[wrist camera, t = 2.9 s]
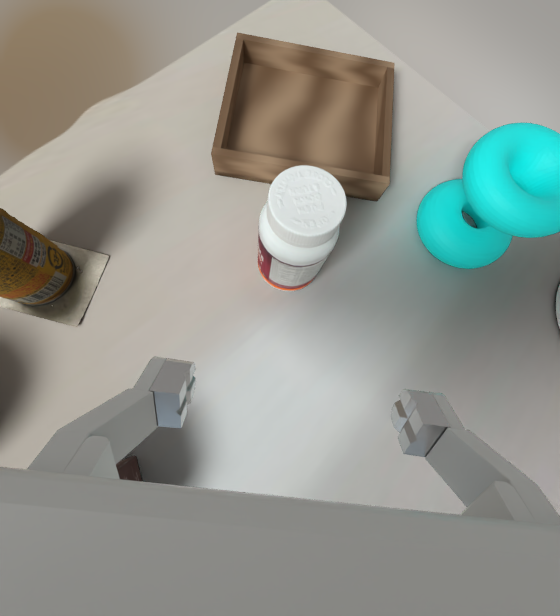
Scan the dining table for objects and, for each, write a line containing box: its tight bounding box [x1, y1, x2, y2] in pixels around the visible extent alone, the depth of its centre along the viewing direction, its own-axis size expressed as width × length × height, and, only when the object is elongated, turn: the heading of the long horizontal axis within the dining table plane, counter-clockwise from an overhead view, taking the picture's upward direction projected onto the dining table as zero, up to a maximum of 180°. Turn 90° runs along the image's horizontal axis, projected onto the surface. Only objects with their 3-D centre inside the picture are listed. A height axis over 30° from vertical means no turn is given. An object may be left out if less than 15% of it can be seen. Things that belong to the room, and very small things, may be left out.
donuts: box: [417, 123, 560, 269], centre depth 27 cm, size 10×10×10 cm
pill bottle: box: [258, 165, 347, 291], centre depth 23 cm, size 6×6×11 cm
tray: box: [211, 33, 394, 201], centre depth 31 cm, size 18×16×3 cm
